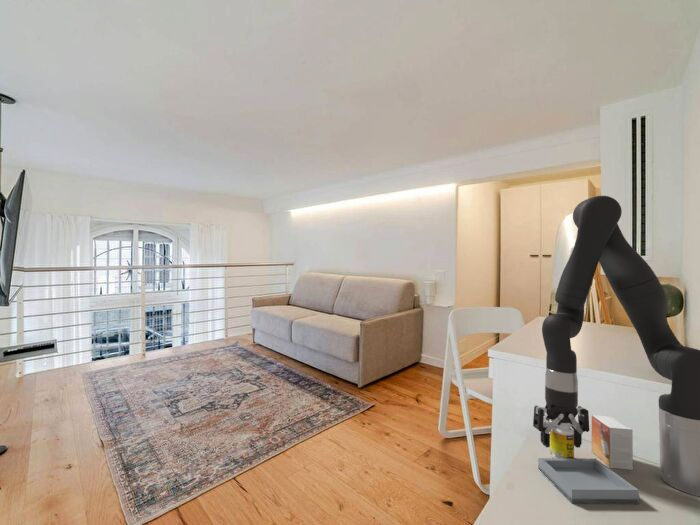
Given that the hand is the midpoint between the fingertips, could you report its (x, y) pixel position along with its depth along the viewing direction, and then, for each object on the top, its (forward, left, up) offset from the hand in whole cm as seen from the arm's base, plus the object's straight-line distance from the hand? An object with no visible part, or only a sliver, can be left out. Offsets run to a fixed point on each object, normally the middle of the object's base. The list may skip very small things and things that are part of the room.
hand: (560, 446), depth 87 cm
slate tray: (+2, +11, -4) cm, 12 cm away
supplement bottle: (-1, 0, -4) cm, 4 cm away
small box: (-14, +1, -4) cm, 14 cm away
